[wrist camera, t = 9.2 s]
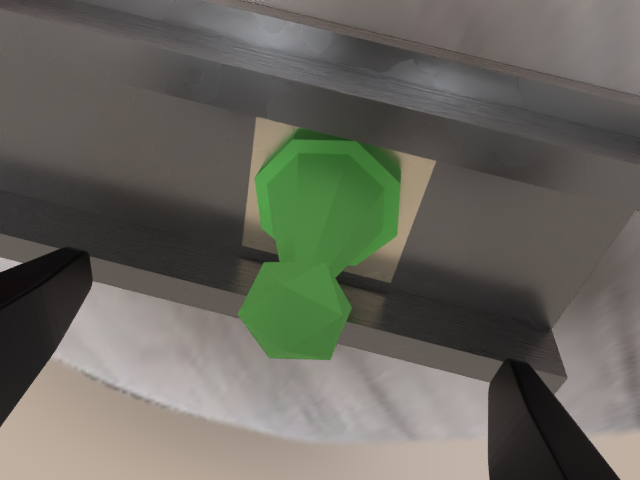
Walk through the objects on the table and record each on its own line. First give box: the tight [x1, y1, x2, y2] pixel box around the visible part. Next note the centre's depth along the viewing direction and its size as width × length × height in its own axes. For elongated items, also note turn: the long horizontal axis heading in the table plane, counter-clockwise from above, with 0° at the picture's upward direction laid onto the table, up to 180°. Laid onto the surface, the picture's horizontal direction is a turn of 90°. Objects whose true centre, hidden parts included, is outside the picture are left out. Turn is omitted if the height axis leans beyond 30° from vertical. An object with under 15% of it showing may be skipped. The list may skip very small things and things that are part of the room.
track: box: [0, 0, 640, 394], centre depth 13 cm, size 24×9×3 cm, turn 79°
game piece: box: [238, 128, 401, 360], centre depth 11 cm, size 4×4×6 cm
